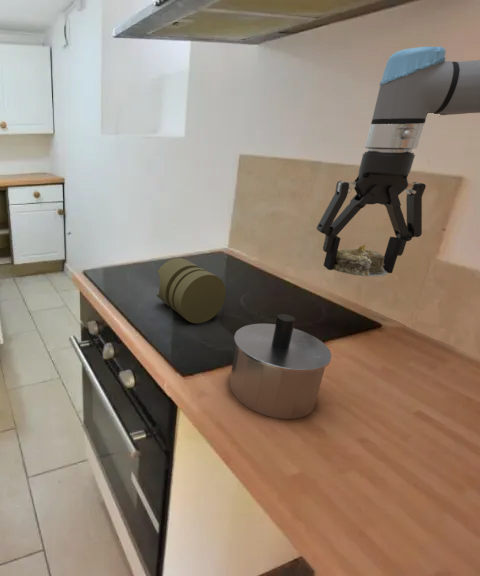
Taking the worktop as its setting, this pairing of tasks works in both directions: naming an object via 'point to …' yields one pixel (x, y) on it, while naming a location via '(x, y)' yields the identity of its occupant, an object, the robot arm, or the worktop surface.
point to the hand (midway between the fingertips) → (356, 269)
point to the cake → (360, 262)
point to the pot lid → (282, 346)
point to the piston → (191, 290)
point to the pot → (273, 388)
